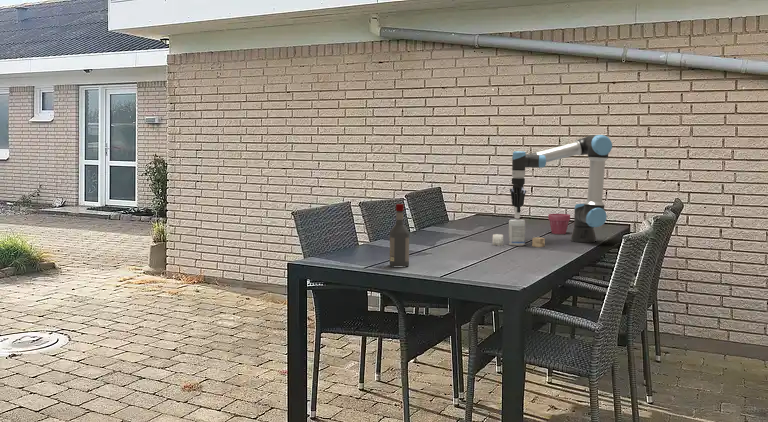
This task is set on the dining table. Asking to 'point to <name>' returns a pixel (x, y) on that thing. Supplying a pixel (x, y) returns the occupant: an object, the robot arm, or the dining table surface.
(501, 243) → the white cube
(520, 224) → the supplement tub
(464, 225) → the dining table surface
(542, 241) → the oak block
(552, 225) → the plant pot
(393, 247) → the liquor
